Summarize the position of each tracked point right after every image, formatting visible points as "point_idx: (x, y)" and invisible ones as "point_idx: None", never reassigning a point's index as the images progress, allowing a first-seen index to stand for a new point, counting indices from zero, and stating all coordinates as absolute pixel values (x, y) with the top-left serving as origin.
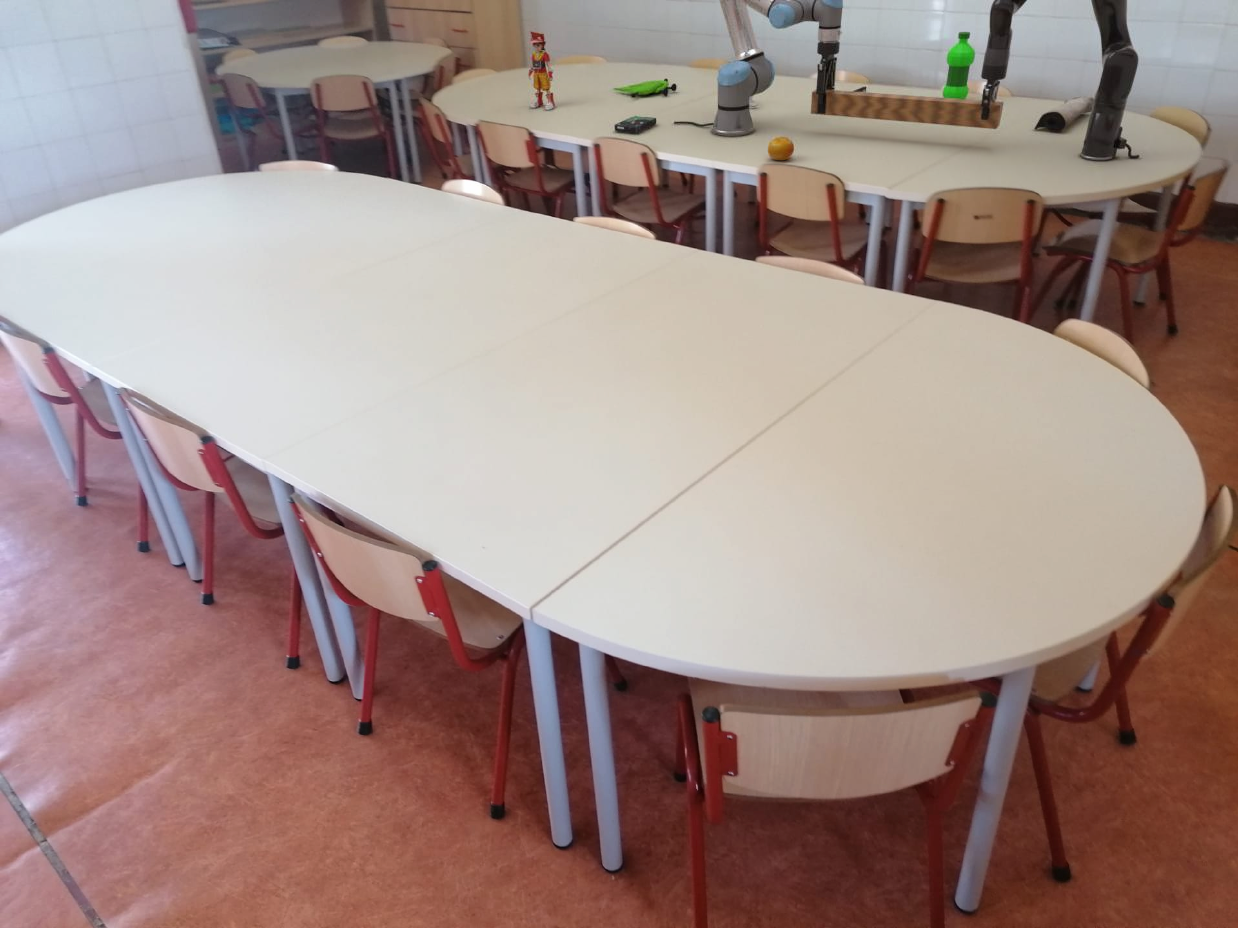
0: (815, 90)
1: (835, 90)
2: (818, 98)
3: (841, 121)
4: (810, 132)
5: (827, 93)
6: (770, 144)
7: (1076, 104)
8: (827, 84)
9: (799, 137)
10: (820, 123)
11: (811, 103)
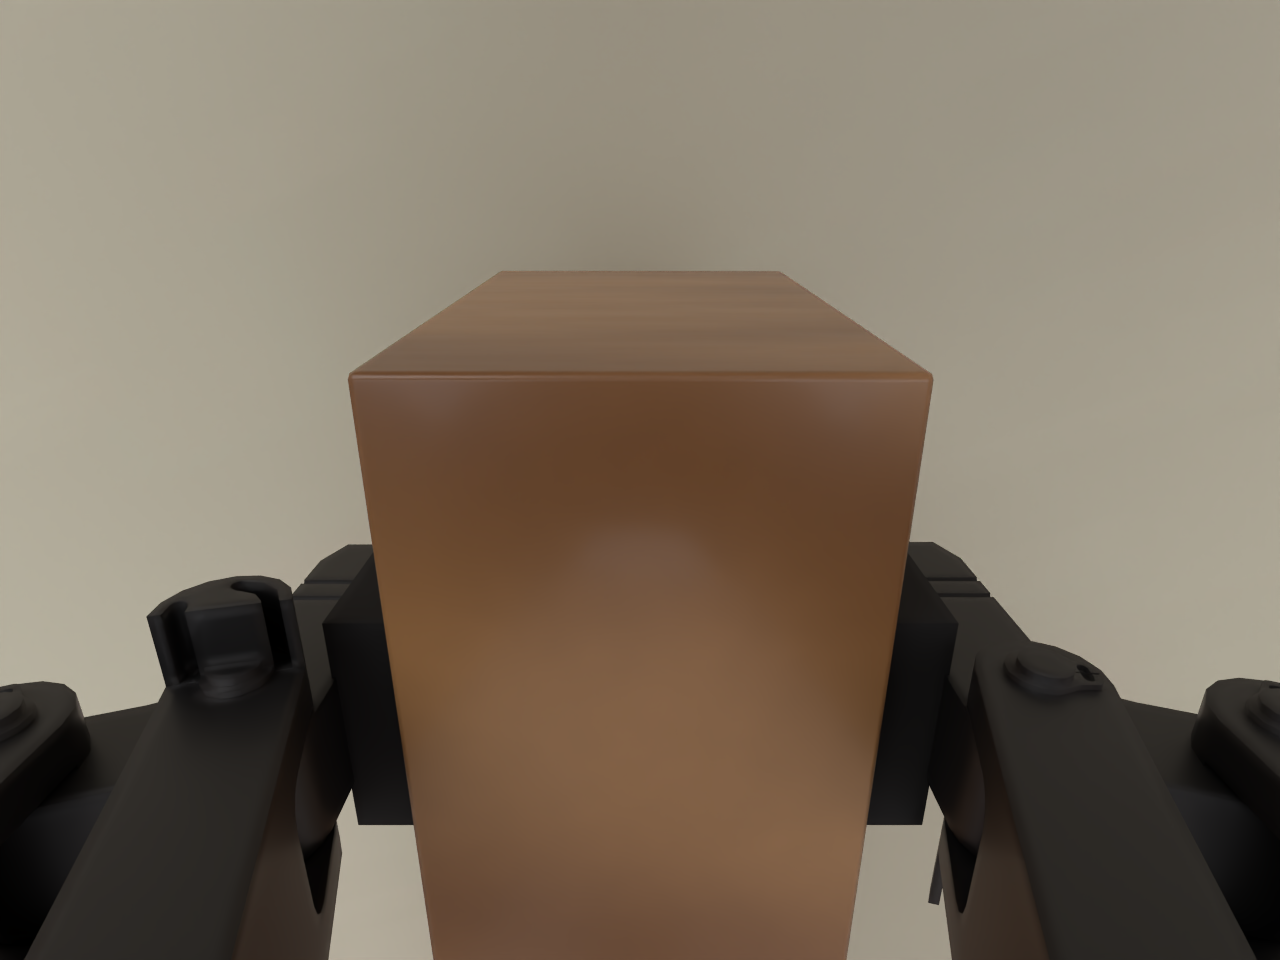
0: (660, 408)
1: (824, 957)
2: (373, 566)
3: (1268, 423)
4: (635, 223)
5: (420, 869)
6: None
7: None
8: (993, 871)
9: (338, 167)
10: (1142, 185)
11: (453, 306)
